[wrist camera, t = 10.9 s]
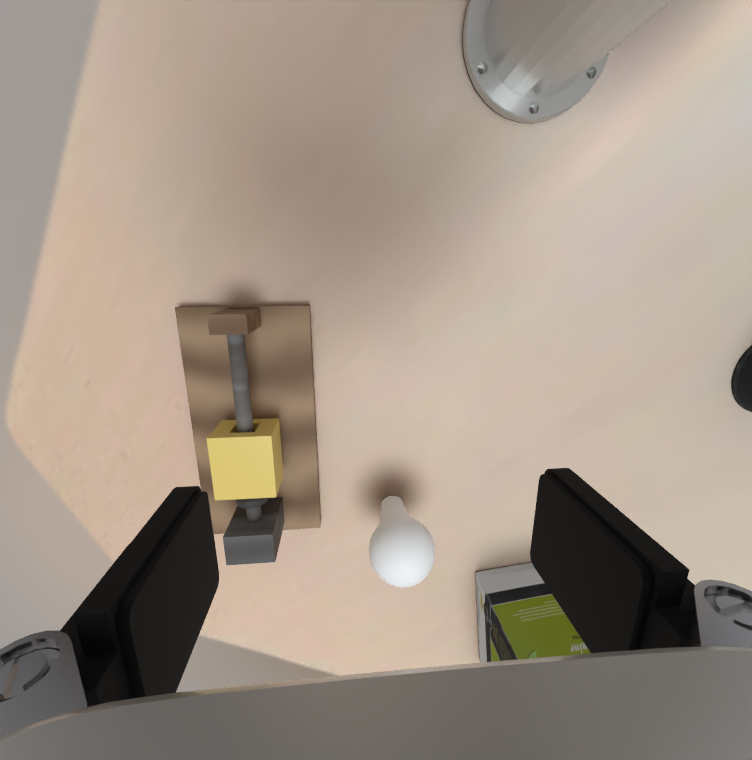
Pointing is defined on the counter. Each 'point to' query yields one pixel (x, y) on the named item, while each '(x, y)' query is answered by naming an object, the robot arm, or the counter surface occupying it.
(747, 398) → the milk frother
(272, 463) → the sleeve
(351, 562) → the counter surface
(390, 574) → the lightbulb
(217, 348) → the cable rail
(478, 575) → the tea box
